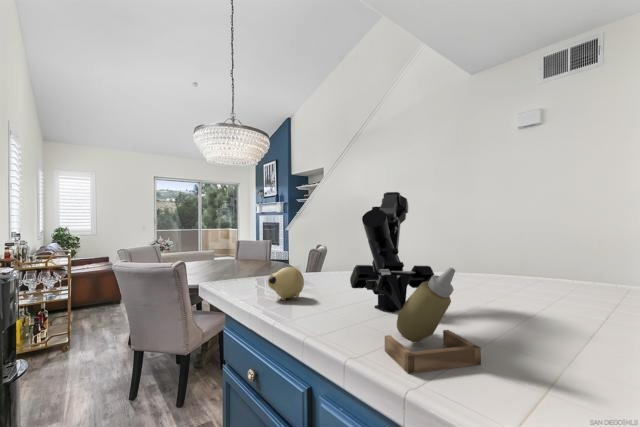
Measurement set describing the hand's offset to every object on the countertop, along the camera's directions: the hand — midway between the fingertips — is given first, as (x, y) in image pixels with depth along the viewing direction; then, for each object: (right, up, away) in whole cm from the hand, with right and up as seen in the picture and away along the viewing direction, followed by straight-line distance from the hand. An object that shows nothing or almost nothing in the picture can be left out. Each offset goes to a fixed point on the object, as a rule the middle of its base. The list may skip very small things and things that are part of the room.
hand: (403, 310), depth 64 cm
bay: (+3, -7, -7) cm, 10 cm away
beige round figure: (-29, -8, +37) cm, 48 cm away
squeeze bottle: (+2, -5, +2) cm, 6 cm away
